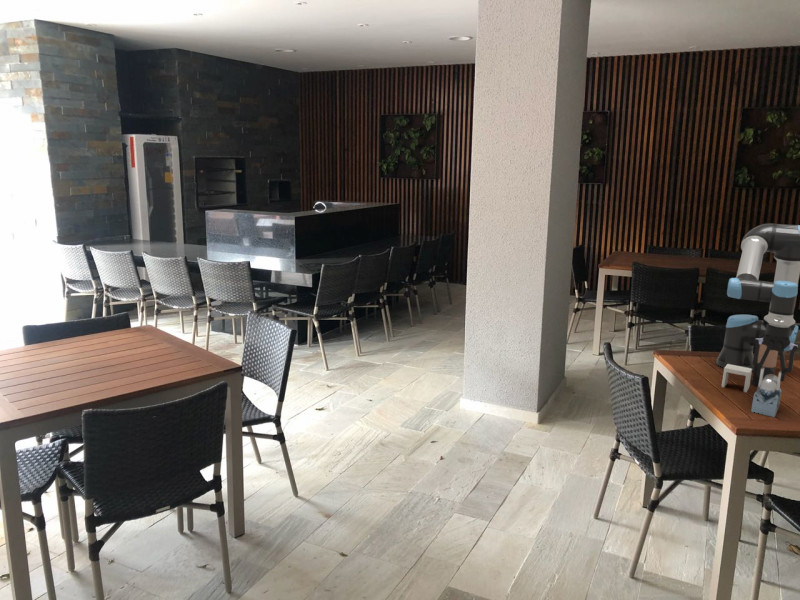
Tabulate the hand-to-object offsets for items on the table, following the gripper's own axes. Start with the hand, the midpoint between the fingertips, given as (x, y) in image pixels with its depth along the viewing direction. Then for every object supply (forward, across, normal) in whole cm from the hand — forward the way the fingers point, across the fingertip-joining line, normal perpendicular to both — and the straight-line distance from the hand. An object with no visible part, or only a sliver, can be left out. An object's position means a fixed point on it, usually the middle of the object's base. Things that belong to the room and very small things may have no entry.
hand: (768, 387), depth 233 cm
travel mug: (+9, -5, +31) cm, 33 cm away
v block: (+9, 0, 0) cm, 9 cm away
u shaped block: (+9, -13, +20) cm, 25 cm away
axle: (+1, -1, 0) cm, 1 cm away
